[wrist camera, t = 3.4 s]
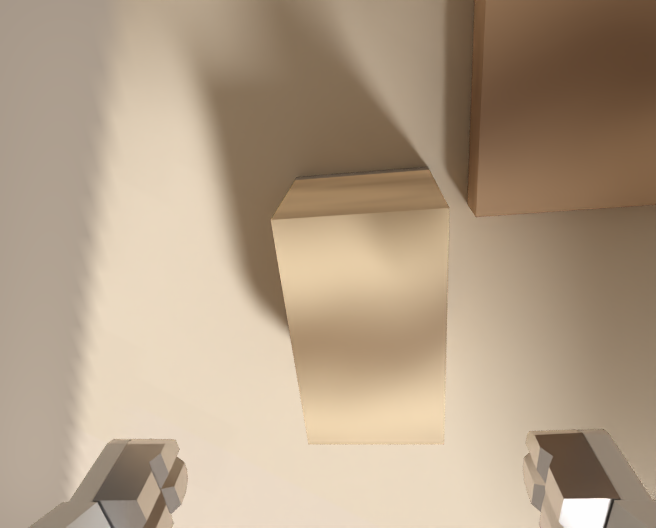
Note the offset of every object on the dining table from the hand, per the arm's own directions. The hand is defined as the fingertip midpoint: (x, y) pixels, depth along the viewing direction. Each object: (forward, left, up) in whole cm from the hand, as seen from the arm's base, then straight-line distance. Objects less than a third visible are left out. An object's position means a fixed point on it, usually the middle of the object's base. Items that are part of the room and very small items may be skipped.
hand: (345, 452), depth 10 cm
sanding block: (0, 0, -9) cm, 9 cm away
